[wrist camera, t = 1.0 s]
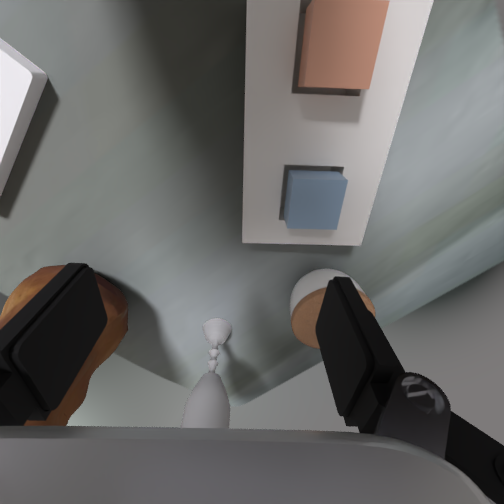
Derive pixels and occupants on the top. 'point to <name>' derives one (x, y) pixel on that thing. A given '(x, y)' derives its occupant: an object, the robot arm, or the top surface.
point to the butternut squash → (101, 350)
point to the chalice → (209, 385)
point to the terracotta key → (341, 43)
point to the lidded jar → (314, 303)
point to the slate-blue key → (314, 199)
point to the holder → (16, 103)
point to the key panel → (318, 120)
